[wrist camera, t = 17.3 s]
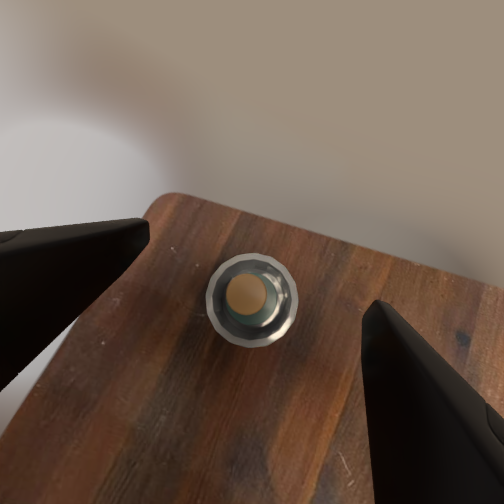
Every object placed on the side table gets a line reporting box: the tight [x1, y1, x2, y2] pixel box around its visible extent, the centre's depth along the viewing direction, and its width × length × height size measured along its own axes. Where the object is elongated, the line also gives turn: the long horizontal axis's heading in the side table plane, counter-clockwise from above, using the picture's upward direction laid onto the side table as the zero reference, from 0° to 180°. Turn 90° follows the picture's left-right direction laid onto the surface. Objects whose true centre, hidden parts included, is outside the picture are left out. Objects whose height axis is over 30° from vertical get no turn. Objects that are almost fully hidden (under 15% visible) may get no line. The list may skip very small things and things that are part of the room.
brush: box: [226, 273, 277, 325], centre depth 15 cm, size 4×4×11 cm
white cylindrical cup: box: [206, 253, 299, 348], centre depth 18 cm, size 7×7×5 cm
